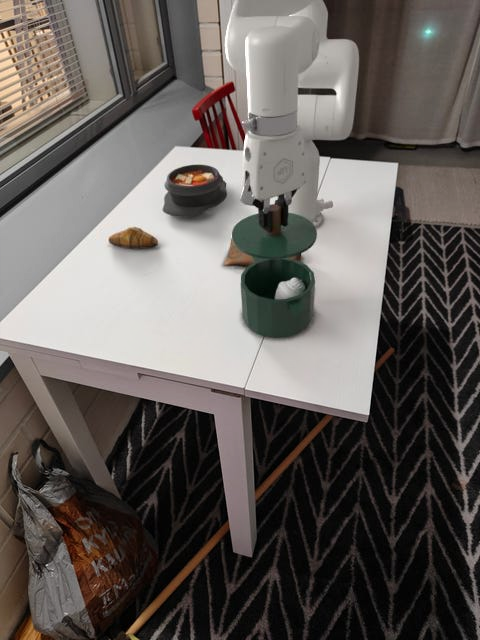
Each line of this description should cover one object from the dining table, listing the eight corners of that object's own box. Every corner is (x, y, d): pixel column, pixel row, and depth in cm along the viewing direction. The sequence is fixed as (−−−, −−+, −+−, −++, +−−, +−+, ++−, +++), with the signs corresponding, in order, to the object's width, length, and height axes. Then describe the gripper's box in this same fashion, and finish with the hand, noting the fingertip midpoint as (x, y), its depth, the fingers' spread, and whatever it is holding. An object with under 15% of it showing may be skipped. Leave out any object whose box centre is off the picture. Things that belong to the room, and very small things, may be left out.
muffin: (290, 317, 93) (312, 291, 91) (266, 298, 93) (288, 272, 91) (292, 311, 99) (313, 287, 97) (270, 293, 99) (291, 268, 97)
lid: (292, 210, 92) (293, 180, 88) (332, 248, 81) (335, 217, 77) (219, 228, 89) (217, 198, 85) (251, 271, 78) (249, 239, 74)
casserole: (208, 227, 126) (205, 199, 120) (148, 218, 131) (142, 190, 125) (240, 186, 143) (238, 160, 137) (186, 180, 148) (182, 154, 143)
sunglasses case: (222, 266, 111) (224, 237, 109) (229, 264, 117) (231, 237, 116) (296, 273, 107) (299, 244, 105) (300, 271, 113) (303, 243, 112)
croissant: (162, 239, 122) (159, 222, 119) (154, 253, 117) (150, 236, 114) (115, 236, 125) (111, 220, 121) (105, 250, 120) (100, 233, 116)
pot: (287, 279, 106) (288, 244, 100) (332, 333, 92) (336, 296, 86) (228, 296, 103) (225, 261, 96) (265, 356, 89) (264, 319, 82)
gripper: (241, 141, 66) (246, 250, 78) (329, 115, 72) (322, 220, 84) (215, 127, 71) (224, 231, 83) (300, 104, 77) (297, 205, 89)
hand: (273, 225), depth 83 cm, fingers closed on lid, 2 cm apart
